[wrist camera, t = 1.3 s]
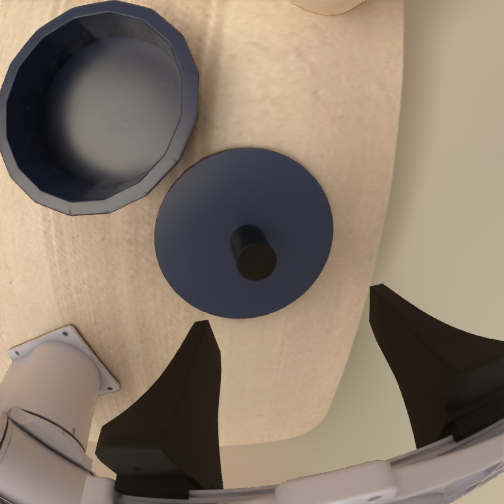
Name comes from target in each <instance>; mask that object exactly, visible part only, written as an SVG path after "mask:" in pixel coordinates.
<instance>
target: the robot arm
mask: <svg viewBox="0 0 504 504" xmlns="http://www.w3.org/2000/svg"><path fill="white" fill-rule="evenodd" d="M369 322H370V325H371V328H372V330H373V333H374V336H375V338H376V341H377V343H378V345H379V347H380V348H381V351H382V352H383V354H384V356H385V358H386V360H387V362H388V364H389V366H390V368H391V370H392V372H393V374H394V375H395V378H396V380H397V382H398V385H399V388H400V391H401V394H402V397H403V399H404V402H405V406H406V409H407V412H408V415H409V419H410V423H411V427H412V431H413V434H414V438H415V443H416V448H417V449H416V450H414V451H411V452H408V453H405V454H403V455H400V456H397V457H394V458H391V459H388V460H375V461H370V462H365V463H362V464H358V465H354V466H350V467H346V468H342V469H339V470H334V471H330V472H324V473H320V474H315V475H309V476H304V477H300V478H295V479H291V480H287V481H285V482H283V483H281V484H277V485H269V486H260V487H250V488H238V489H223V482H222V474H221V464H220V453H219V437H218V407H219V395H220V384H221V353H220V350H219V347H218V344H217V342H216V339H215V337H214V334H213V331H212V329H211V326H210V324H209V321H208V320H204V321H198V322H195V323H194V324H193V326H192V327H191V329H190V331H189V333H188V334H187V336H186V338H185V340H184V341H183V343H182V345H181V346H180V348H179V349H178V351H177V353H176V354H175V356H174V357H173V359H172V360H171V362H170V363H169V365H168V366H167V368H166V369H165V370H164V372H163V373H162V374H161V376H160V377H159V378H158V379H157V380H156V382H155V383H154V384H153V385H152V386H151V387H150V388H149V389H148V390H147V391H146V392H145V393H144V394H143V395H142V396H141V397H140V398H139V399H138V400H137V401H136V402H135V403H134V404H133V405H131V406H130V407H129V408H128V409H126V410H125V411H124V412H123V413H121V414H120V415H119V416H117V417H116V418H114V419H113V420H111V421H110V422H108V423H107V424H105V425H103V426H102V429H101V432H100V435H99V439H98V443H97V447H96V451H95V454H96V456H97V458H98V459H99V460H100V461H101V462H102V463H103V464H105V465H106V466H107V467H108V468H110V469H111V470H112V471H113V472H115V473H116V474H117V477H116V481H115V480H113V479H110V478H105V477H98V475H96V474H95V473H94V472H92V471H91V468H92V461H93V460H92V459H91V458H90V457H88V456H87V455H86V454H85V453H86V448H87V442H88V437H89V432H90V428H91V423H92V418H93V414H94V409H95V405H96V401H97V396H100V395H104V394H107V393H111V392H114V391H118V390H119V388H120V385H119V383H118V382H117V381H116V380H115V379H114V378H113V376H112V375H111V374H110V373H109V372H108V370H107V369H106V368H105V367H104V366H103V364H102V363H101V362H100V361H99V359H98V358H97V357H96V356H95V354H94V353H93V352H92V351H91V349H90V348H89V347H88V345H87V344H86V343H85V341H84V340H83V339H82V337H81V336H80V335H79V333H78V332H77V331H76V329H75V328H74V327H73V326H71V325H67V326H65V327H62V328H60V329H57V330H55V331H53V332H50V333H48V334H45V335H43V336H41V337H38V338H36V339H34V340H31V341H29V342H26V343H24V344H22V345H19V346H17V347H14V348H12V349H10V350H9V351H8V355H9V357H10V358H11V359H12V360H13V361H12V363H11V365H10V367H9V369H8V371H7V372H6V374H5V376H4V378H3V380H2V382H1V384H0V497H2V498H3V499H5V500H7V501H8V502H10V503H12V504H449V503H451V502H453V501H455V500H457V499H459V498H461V497H463V496H465V495H466V494H468V493H470V492H472V491H473V490H475V489H477V488H479V487H480V486H482V485H484V484H485V483H487V482H488V481H490V480H492V479H493V478H495V477H496V476H498V475H499V474H501V473H502V472H504V341H500V340H495V339H489V338H485V337H481V336H477V335H474V334H471V333H468V332H465V331H462V330H460V329H457V328H455V327H452V326H450V325H448V324H445V323H444V322H441V321H439V320H437V319H436V318H434V317H432V316H430V315H428V314H427V313H425V312H423V311H422V310H420V309H418V308H417V307H415V306H414V305H412V304H411V303H409V302H408V301H406V300H405V299H403V298H402V297H401V296H399V295H398V294H396V293H395V292H394V291H392V290H391V289H389V288H388V287H387V286H385V285H384V284H379V285H375V286H370V314H369ZM64 331H65V332H67V333H68V334H67V333H65V332H64ZM17 351H18V352H17ZM110 387H111V388H110ZM3 499H1V498H0V504H9V503H8V502H6V501H4V500H3Z"/></svg>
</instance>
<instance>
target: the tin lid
mask: <svg viewBox="0 0 504 504" xmlns="http://www.w3.org/2000/svg"><path fill="white" fill-rule="evenodd" d="M332 239H333V219H332V213H331V209H330V205H329V202H328V200H327V197H326V195H325V193H324V191H323V189H322V187H321V186H320V185H319V183H318V182H317V180H316V179H315V178H314V177H313V176H312V175H311V174H310V173H309V172H308V170H306V169H305V168H304V167H303V166H301V165H300V164H299V163H297V162H296V161H294V160H292V159H290V158H289V157H287V156H284V155H282V154H279V153H277V152H274V151H269V150H265V149H259V148H235V149H230V150H225V151H221V152H218V153H215V154H212V155H210V156H208V157H206V158H204V159H202V160H200V161H199V162H197V163H196V164H194V165H193V166H191V167H190V168H189V169H187V170H186V171H185V172H184V173H183V174H182V175H181V176H180V177H179V178H178V179H177V180H176V181H175V183H174V184H173V185H172V186H171V188H170V190H169V191H168V193H167V194H166V196H165V198H164V200H163V202H162V204H161V207H160V209H159V213H158V216H157V219H156V225H155V250H156V256H157V259H158V263H159V266H160V268H161V270H162V273H163V275H164V277H165V278H166V280H167V281H168V283H169V285H170V286H171V287H172V288H173V289H174V291H175V292H176V293H177V294H178V295H179V296H180V297H182V298H183V299H184V300H185V301H186V302H188V303H189V304H191V305H192V306H194V307H196V308H197V309H199V310H201V311H203V312H206V313H209V314H212V315H215V316H219V317H224V318H233V319H246V318H254V317H259V316H263V315H267V314H270V313H273V312H275V311H278V310H280V309H282V308H284V307H286V306H287V305H289V304H291V303H292V302H294V301H295V300H296V299H298V298H299V297H300V296H301V295H303V294H304V293H305V292H306V291H307V290H308V289H309V288H310V287H311V286H312V284H313V283H314V282H315V281H316V279H317V278H318V276H319V275H320V273H321V271H322V270H323V268H324V266H325V264H326V261H327V259H328V256H329V253H330V250H331V245H332Z"/></svg>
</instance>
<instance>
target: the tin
mask: <svg viewBox="0 0 504 504" xmlns="http://www.w3.org/2000/svg"><path fill="white" fill-rule="evenodd" d="M198 89H199V73H198V70H197V68H196V65H195V63H194V60H193V58H192V55H191V53H190V50H189V48H188V46H187V43H186V41H185V38H184V36H183V35H182V34H181V33H180V32H179V31H178V30H177V29H176V28H174V27H173V26H172V25H171V24H170V23H169V22H167V21H166V20H165V19H164V18H163V17H162V16H160V15H159V14H158V13H157V12H156V11H154V10H152V9H150V8H146V7H142V6H139V5H135V4H130V3H126V2H122V1H117V0H111V1H104V2H99V3H93V4H88V5H83V6H78V7H74V8H72V9H70V10H68V11H66V12H65V13H63V14H61V15H60V16H58V17H56V18H55V19H53V20H52V21H50V22H49V23H47V24H45V25H44V26H42V27H41V28H39V29H38V30H37V31H36V32H35V33H34V34H33V36H32V37H31V38H30V39H29V40H28V42H27V43H26V44H25V45H24V46H23V48H22V49H21V50H20V52H19V53H18V54H17V55H16V57H15V58H14V59H13V61H12V62H11V64H10V66H9V69H8V71H7V74H6V76H5V79H4V82H3V85H2V88H1V91H0V152H1V155H2V157H3V160H4V163H5V165H6V168H7V170H8V172H9V175H10V176H11V178H12V179H13V180H14V182H15V183H16V184H17V185H18V186H19V187H20V188H21V189H22V190H23V191H24V192H25V193H26V194H27V195H28V196H29V197H30V198H31V199H32V200H33V201H34V202H35V203H38V204H40V205H43V206H45V207H48V208H51V209H53V210H56V211H58V212H61V213H64V214H66V215H71V216H78V215H94V214H108V213H109V214H110V213H112V212H114V211H116V210H118V209H120V208H122V207H124V206H126V205H128V204H130V203H132V202H134V201H136V200H138V199H141V198H143V197H145V196H147V194H149V193H150V192H151V191H152V190H153V189H154V187H155V186H156V185H157V184H158V183H159V182H160V181H161V180H162V179H163V178H164V177H165V176H166V175H167V174H168V173H169V172H170V171H171V170H172V168H173V167H174V166H175V165H176V164H177V163H178V161H179V160H180V158H181V156H182V154H183V152H184V150H185V147H186V145H187V143H188V140H189V138H190V136H191V133H192V131H193V129H194V127H195V124H196V122H197V118H198Z"/></svg>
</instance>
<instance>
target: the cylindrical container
mask: <svg viewBox="0 0 504 504" xmlns="http://www.w3.org/2000/svg"><path fill="white" fill-rule="evenodd" d="M289 1H291V2H292V3H294V4H295V5H297V6H299V7H301V8H302V9H304V10H307V11H310V12H313V13H317V14H322V15H336V14H342V13H344V12H347V11H349V10H350V9H352V8H354V7H355V6H357V5H359V4H360V3H362V2H364V1H366V0H289Z"/></svg>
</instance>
